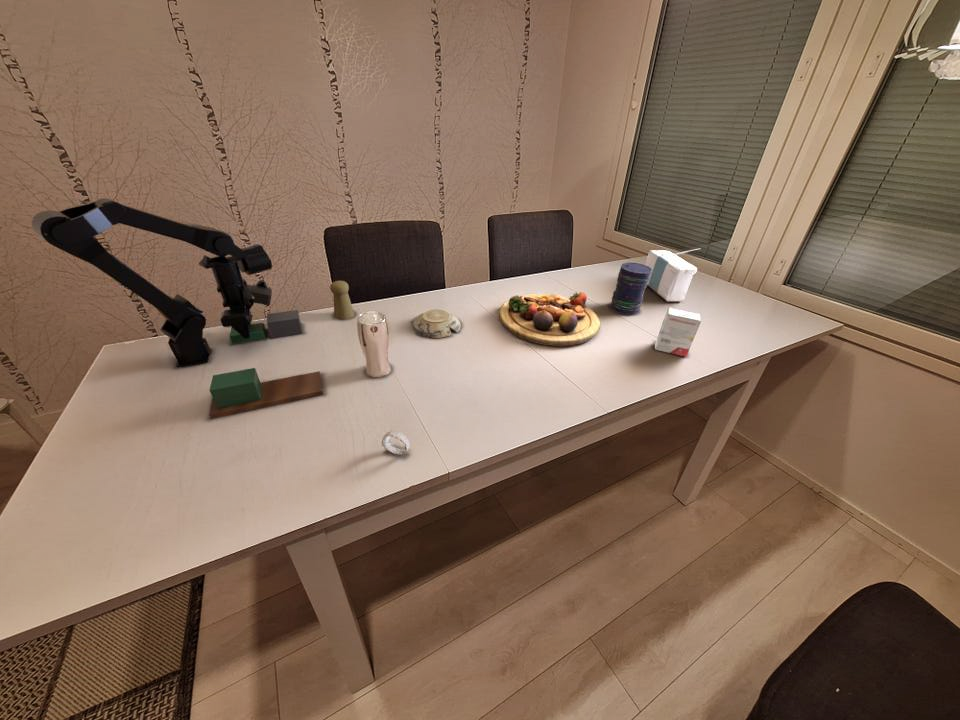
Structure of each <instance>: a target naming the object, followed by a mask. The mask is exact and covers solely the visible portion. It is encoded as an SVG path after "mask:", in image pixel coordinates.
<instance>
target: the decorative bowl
mask: <svg viewBox="0 0 960 720" xmlns="http://www.w3.org/2000/svg"><path fill="white" fill-rule="evenodd" d="M412 326H413V329H414V330H415V331H416V333H417V335H418V336H421V337H424V338H432V339H442V338H446V337H450V336H452V332H451V330H453V331H454V332H455V333H458V332H459V331H460V330H461V322H460V320H459V318H458V317H457V316H455V315H454V314H452V313H450V312H448V311H446V310H444V309H436V308H435V309H429V310H426V311H424V312H422V313H420V314H419V315H417V316H416V318H415V319H414V320H413V321H412Z"/></svg>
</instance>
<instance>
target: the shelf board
mask: <svg viewBox="0 0 960 720" xmlns="http://www.w3.org/2000/svg"><path fill="white" fill-rule="evenodd" d="M260 382H261V381H260ZM322 382H323V381H322V376H321V372H320V370H318V371H313V372H309V373H302V374H297V375H293V376H292V375H291V376H287V377H282V378H277V379H272V380H266V381H262V382H261V385H262V386H261V400H258V401H253V402H248V403H243V404H239V405H234V406H229V407H224V408H219V409H218V408H217V405H216V403H215V401H214V399H213V397H212V399H211V403H210V408H209V412H208V416H209V418H210V419H216V418H221V417H225V416H230V415H235V414H239V413H244V412H249V411H253V410H258V409H263V408H267V407H272V406H277V405H281V404H285V403H290V402H295V401H300V400H304V399H309V398H314V397H318V396H323V395H324V387H323V383H322Z"/></svg>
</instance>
